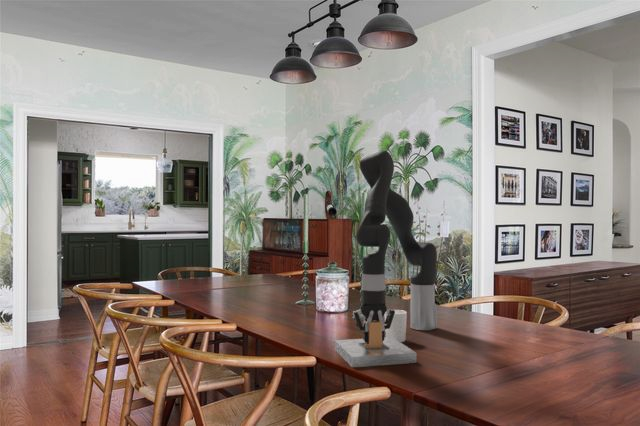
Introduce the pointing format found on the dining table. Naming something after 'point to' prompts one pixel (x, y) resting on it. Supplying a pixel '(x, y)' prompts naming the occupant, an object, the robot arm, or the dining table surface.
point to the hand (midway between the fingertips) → (373, 342)
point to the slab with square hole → (374, 353)
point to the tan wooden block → (375, 334)
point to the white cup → (397, 326)
